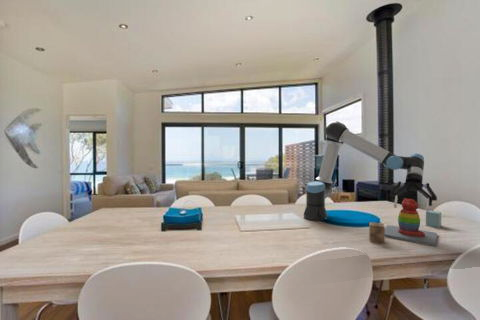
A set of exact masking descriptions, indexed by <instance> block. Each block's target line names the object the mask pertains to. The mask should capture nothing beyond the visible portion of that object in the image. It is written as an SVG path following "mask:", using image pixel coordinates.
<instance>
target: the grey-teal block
mask: <svg viewBox="0 0 480 320" xmlns="http://www.w3.org/2000/svg"><path fill="white" fill-rule="evenodd" d="M425 226H427V227H433V228H434V227H435V228H440V227H442V211H436V210H430V209H429V212H427V211H425Z"/></svg>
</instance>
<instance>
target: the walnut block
mask: <svg viewBox="0 0 480 320" xmlns="http://www.w3.org/2000/svg"><path fill="white" fill-rule="evenodd" d="M368 228H369V230H368V234H369V235H368V237H369V242H370V243H375V244H383V245H385V241H386V240H385V238H386V237H385V228H386V226H385V225H384V223H382V222H380V223H379V222H372V221H371V222H369V226H368Z"/></svg>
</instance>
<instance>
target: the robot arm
mask: <svg viewBox="0 0 480 320" xmlns="http://www.w3.org/2000/svg"><path fill="white" fill-rule="evenodd" d="M324 134H325V136H326V138H325V141H326V147H325V151H324V155H323V158H322V162H321V166H320V168H319V173H318V176H317V177H316V178H315V179H314V181H309V182H307V184H306V188H305V190H306V192H305V194H306V200H305V201H306V204H305V205H306V206H305V209H304V212H303V218H304V219H306V220H309V221H317V222H323V219H325V218H327V217H329V215H328V212H327V209H326V199H327V198H329V197H330V196H331V194H332V191H333V184H334V182H333V180H332V177H333V174H334V171H335V166H336V163H337V158H338V156H339V151H340V148H341V146H342V145H344V144H345V145H347V146H349V147H351V148H353V149H355V150H357V151H359V152H361V153H362V154H364V155H366V156H367V157H369V158H371V159H373V160H375V161H376V162H378V163H380V164H381V165H382V164H383V166H384V167H385V168H388V169H390V170H394V171H395V170H396V171H397V170H405V171H406V174H405V182H402V181H398V182H397V184H396V186H394V188H392V189H391V191H390V192H389V197H392V202H393V203H394V205H393V206H394V209H397V205H398V197H399V196H401V195H402V194H405V193H406V192H408V191H409V192H419V194H421V195H422V196H423V197H424V198H426V212H429V210H430V207H432V206H433V201H437V200H438V197H437V195H436V194H435V192H434V191H433V189H432V188H431V187H430V183H428V182H427V183H423V179H424V178H423V177H424V170H425V169H424V168H425V157H424V156H423V155H422V154H421V153H411V154H410V155H409V156H400V155H396V154H394V153H392V152H391V151H388V150H386V149H384V148H383V147H381V146H378V145H377V144H375V143H374V142H371V141H369V140H367V139H366V138H363V137H361V136H359V135H357V134H356V133H354V132H352V131H350V130H349V128H348V127H347V126H346V125H345V124H344V123H342V122H340V121H337V120H332V121H329V122H328V123H327V124H325V127H324ZM423 188H424V189H426V191H425V190H424V189H423Z"/></svg>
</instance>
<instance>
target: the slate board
mask: <svg viewBox="0 0 480 320" xmlns="http://www.w3.org/2000/svg"><path fill="white" fill-rule="evenodd" d="M398 230H399V226H398V225H389V224H387V225H386V226H385V238H389V239H390V238H391V239H395V240H398V241H399V240H400V241H405V242H406V241H407V242H411V243H418V244H421V245H426V246H432V247H436V246H437V236H438V233H437V232H435V231H429V230H428V231H427V230H421V229H419V231H422V232H423V233H425V236H424V237H418V236H409V235H404V234H401V233H399V232H398Z"/></svg>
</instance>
